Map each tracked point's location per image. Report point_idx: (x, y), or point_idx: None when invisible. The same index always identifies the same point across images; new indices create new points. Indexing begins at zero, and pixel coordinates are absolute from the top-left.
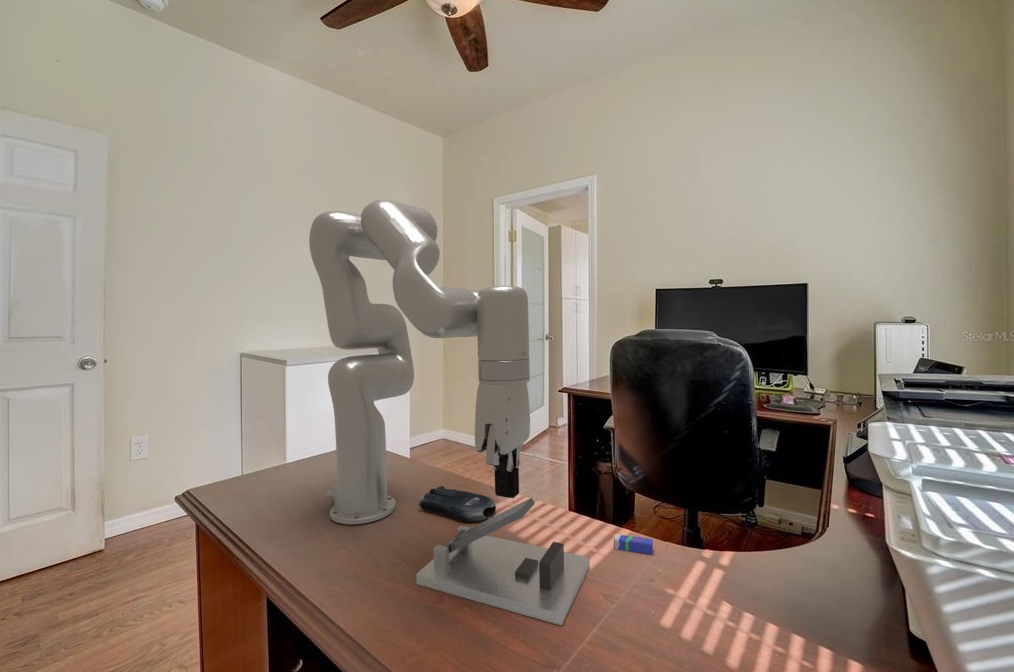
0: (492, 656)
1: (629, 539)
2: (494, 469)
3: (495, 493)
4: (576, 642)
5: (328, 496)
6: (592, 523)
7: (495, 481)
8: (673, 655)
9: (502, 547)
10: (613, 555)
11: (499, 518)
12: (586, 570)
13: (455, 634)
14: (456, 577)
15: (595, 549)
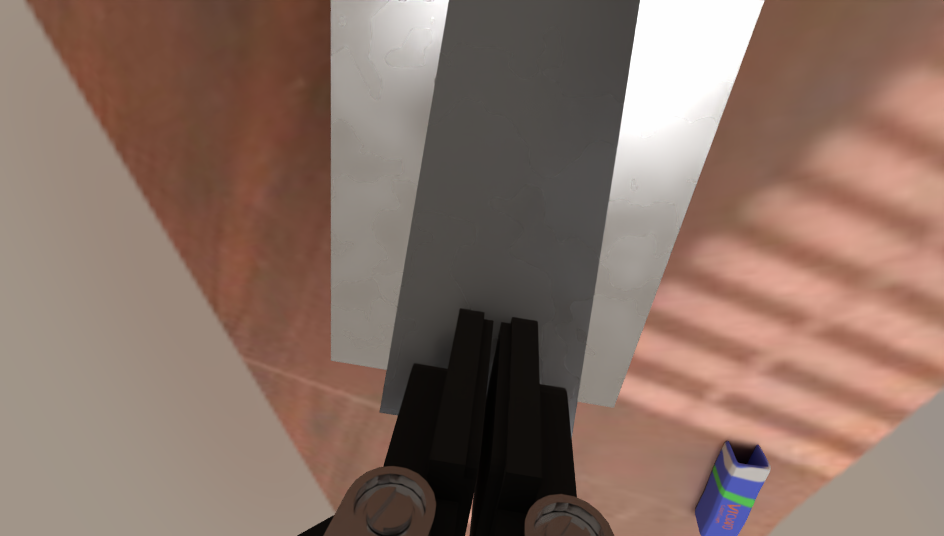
0: (176, 216)
1: (730, 499)
2: (362, 482)
3: (460, 310)
4: (304, 370)
5: None
6: (922, 387)
7: (447, 373)
8: None
9: (646, 123)
10: (684, 437)
11: (459, 256)
12: None
13: (188, 96)
14: (375, 2)
15: (718, 397)
